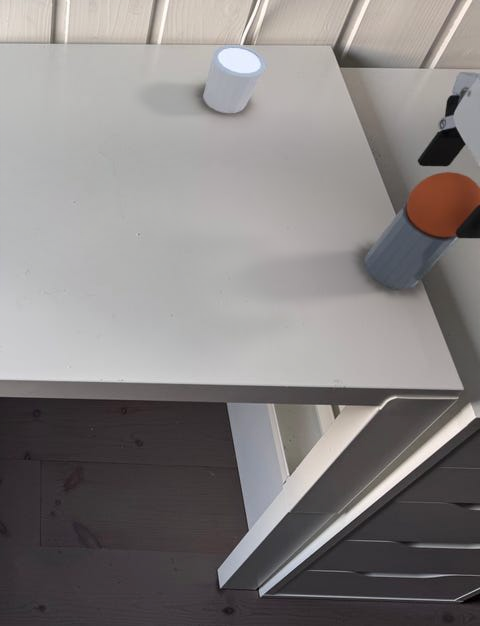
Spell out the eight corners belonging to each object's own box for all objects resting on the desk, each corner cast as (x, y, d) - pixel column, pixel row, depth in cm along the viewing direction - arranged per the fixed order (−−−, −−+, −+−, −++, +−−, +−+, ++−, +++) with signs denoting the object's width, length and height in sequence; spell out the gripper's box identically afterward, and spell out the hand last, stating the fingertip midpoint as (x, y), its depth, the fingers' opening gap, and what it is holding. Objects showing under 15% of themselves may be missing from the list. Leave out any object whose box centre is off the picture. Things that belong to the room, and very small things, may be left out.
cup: (403, 253, 78) (449, 198, 71) (422, 294, 75) (473, 241, 67) (353, 252, 78) (394, 197, 70) (370, 294, 74) (415, 240, 67)
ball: (443, 206, 72) (482, 160, 67) (467, 252, 68) (511, 207, 63) (385, 203, 71) (420, 156, 66) (406, 249, 68) (445, 203, 63)
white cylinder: (254, 101, 93) (274, 56, 87) (237, 128, 90) (255, 83, 84) (208, 82, 95) (224, 37, 89) (189, 108, 91) (204, 63, 86)
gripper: (691, 117, 48) (527, 267, 62) (570, -16, 58) (453, 140, 72) (588, 115, 47) (447, 267, 62) (485, -19, 57) (384, 138, 71)
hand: (450, 198), depth 67 cm, fingers open, 9 cm apart
